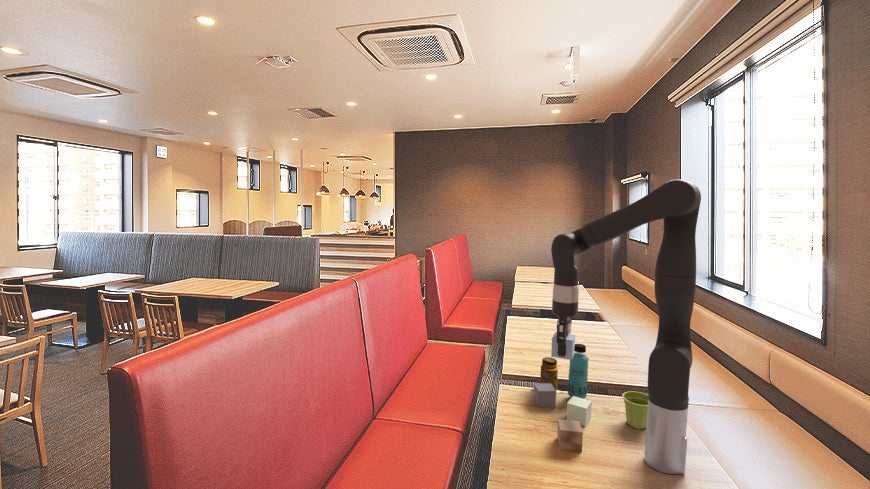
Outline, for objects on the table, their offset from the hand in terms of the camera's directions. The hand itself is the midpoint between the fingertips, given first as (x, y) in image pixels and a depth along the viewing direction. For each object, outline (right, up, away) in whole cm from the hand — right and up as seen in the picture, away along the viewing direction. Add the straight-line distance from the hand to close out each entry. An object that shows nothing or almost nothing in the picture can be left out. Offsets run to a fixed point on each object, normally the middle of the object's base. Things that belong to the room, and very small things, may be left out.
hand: (563, 352), depth 128 cm
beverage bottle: (+11, -22, +19) cm, 31 cm away
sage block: (+7, -23, +6) cm, 25 cm away
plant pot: (+24, -24, +3) cm, 34 cm away
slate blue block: (0, -1, 0) cm, 1 cm away
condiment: (+2, -21, +26) cm, 33 cm away
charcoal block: (-2, -22, +16) cm, 27 cm away
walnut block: (-1, -25, -8) cm, 26 cm away
